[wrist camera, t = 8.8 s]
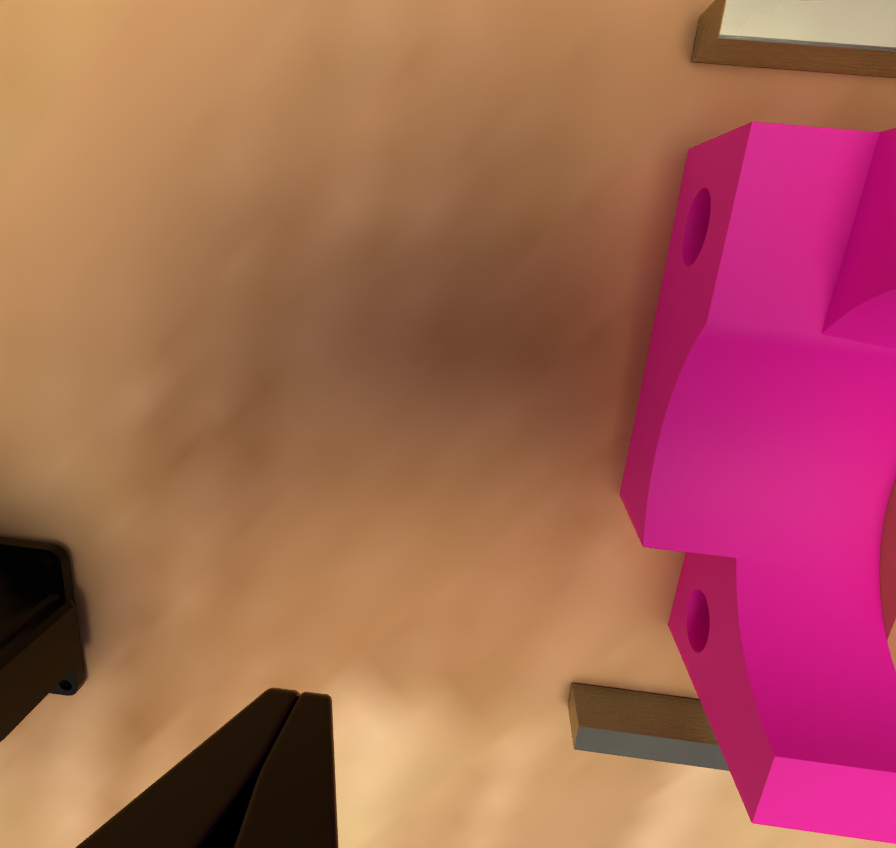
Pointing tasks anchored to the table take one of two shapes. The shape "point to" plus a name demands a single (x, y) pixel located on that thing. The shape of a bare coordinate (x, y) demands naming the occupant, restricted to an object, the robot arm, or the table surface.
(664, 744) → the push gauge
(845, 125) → the table surface
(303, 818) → the robot arm
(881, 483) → the toy block
